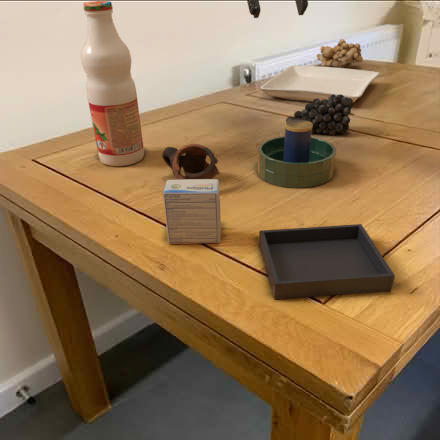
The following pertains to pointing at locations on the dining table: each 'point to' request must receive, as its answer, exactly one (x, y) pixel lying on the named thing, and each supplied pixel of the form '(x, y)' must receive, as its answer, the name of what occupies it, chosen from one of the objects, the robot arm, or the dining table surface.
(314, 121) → the fruit
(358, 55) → the mineral formation
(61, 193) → the dining table surface
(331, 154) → the bowl
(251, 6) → the robot arm
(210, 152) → the pottery mug
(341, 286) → the tray
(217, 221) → the medicine box
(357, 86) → the square plate
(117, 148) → the fruit juice
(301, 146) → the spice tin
